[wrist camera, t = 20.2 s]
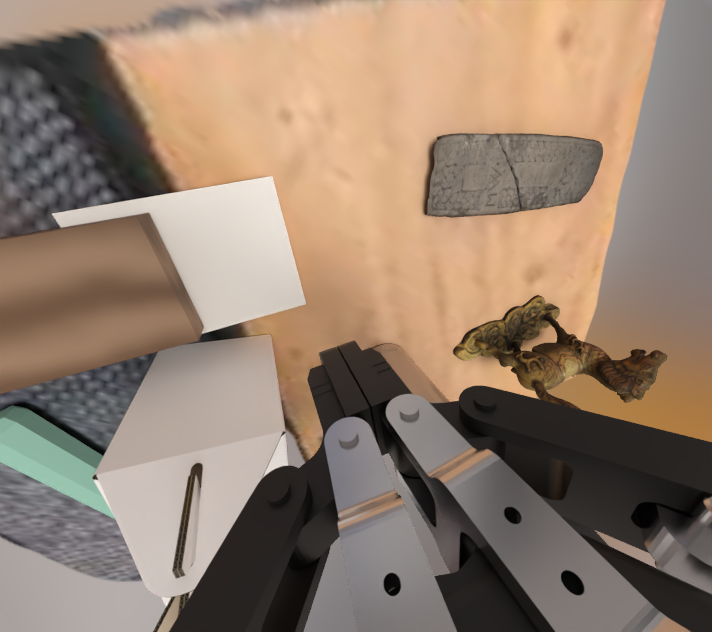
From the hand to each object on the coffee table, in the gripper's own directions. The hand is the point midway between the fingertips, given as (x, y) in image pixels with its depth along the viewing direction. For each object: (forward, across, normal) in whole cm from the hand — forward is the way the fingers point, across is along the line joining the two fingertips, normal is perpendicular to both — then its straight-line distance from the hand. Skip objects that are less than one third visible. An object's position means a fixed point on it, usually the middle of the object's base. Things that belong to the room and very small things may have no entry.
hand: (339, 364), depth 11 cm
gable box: (+27, +13, +20) cm, 36 cm away
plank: (+22, +20, -1) cm, 30 cm away
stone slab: (+26, -35, -2) cm, 44 cm away
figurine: (+26, -38, +27) cm, 53 cm away
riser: (+26, +8, -1) cm, 27 cm away
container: (+27, +31, +22) cm, 47 cm away
